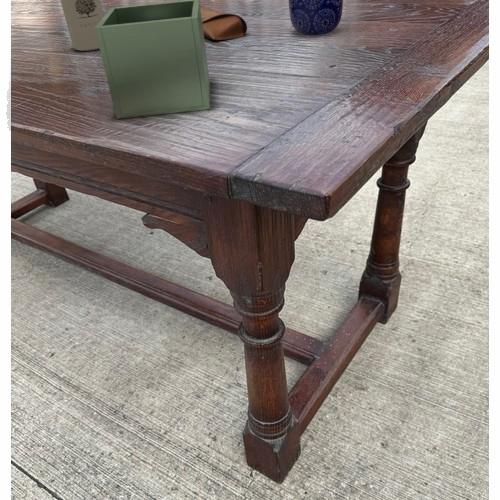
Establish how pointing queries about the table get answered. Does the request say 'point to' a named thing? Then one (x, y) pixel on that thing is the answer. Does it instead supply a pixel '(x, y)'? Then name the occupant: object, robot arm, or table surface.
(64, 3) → the travel mug
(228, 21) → the sunglasses case
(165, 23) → the bin
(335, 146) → the table surface
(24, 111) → the table surface
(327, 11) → the planter
